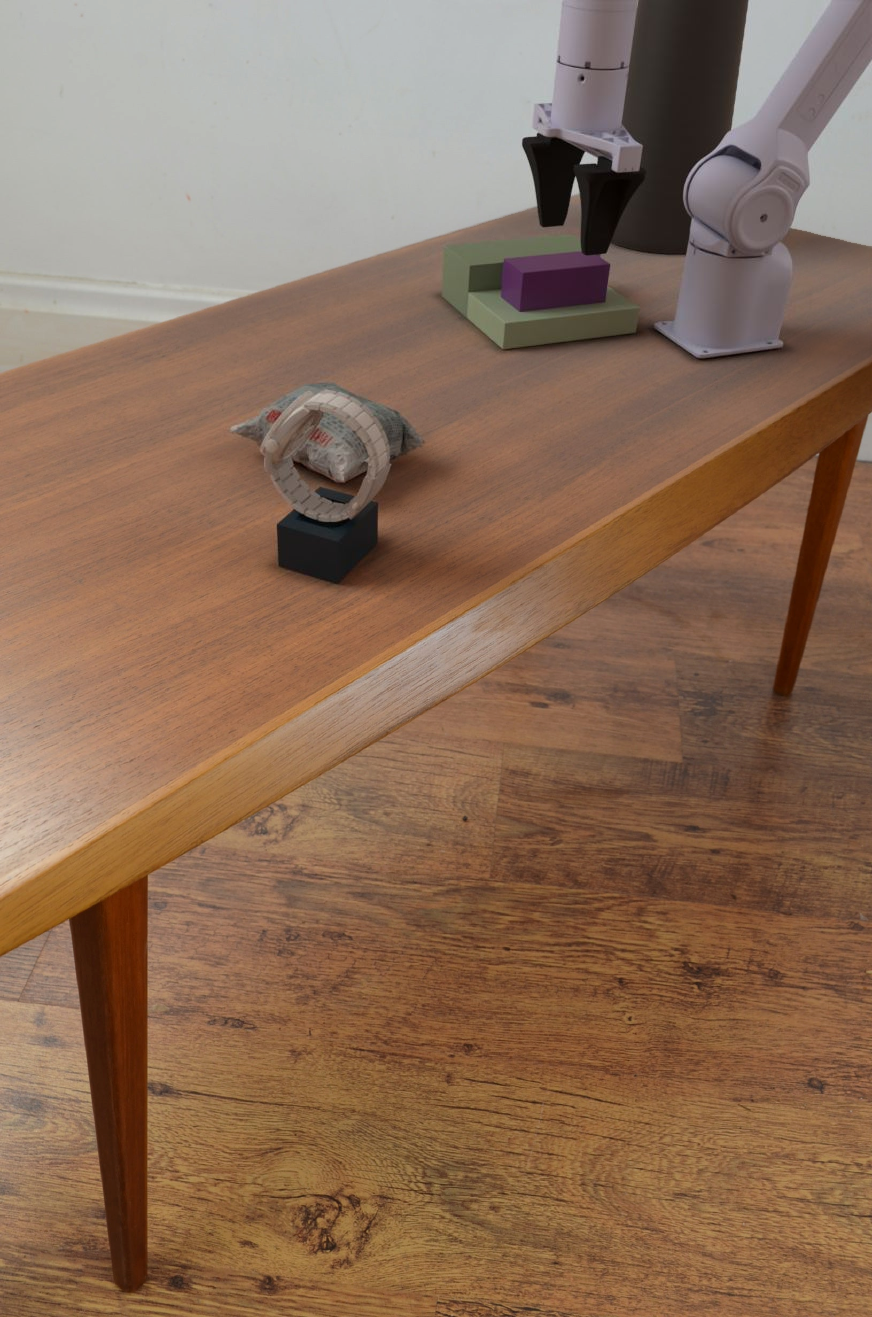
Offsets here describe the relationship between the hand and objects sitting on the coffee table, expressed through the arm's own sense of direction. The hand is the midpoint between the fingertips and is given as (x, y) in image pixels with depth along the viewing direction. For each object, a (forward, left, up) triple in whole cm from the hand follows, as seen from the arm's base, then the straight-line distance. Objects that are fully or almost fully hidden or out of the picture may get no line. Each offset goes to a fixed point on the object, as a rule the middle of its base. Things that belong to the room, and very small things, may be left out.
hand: (572, 238), depth 98 cm
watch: (+31, +26, -10) cm, 42 cm away
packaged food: (+27, +14, -10) cm, 32 cm away
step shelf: (-2, -10, -10) cm, 14 cm away
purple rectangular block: (-2, -6, -7) cm, 9 cm away
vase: (-27, -27, -10) cm, 39 cm away
